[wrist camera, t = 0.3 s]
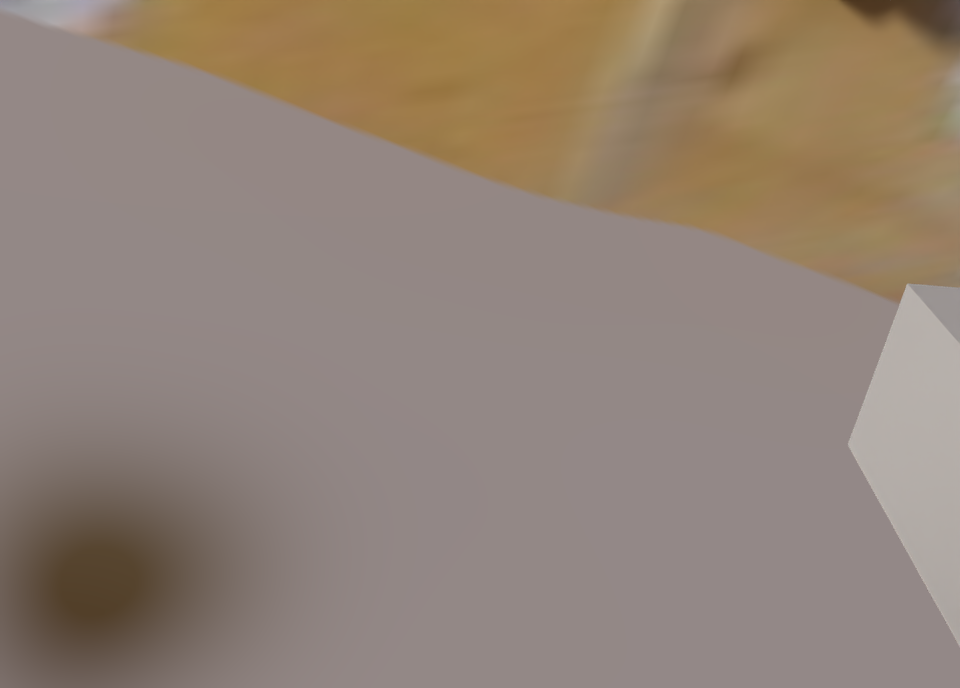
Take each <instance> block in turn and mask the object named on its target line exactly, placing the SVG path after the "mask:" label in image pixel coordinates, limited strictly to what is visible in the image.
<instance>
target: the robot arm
mask: <svg viewBox="0 0 960 688" xmlns="http://www.w3.org/2000/svg"><path fill="white" fill-rule="evenodd" d="M848 446H849V448H850V450H851V451H852V453H853V455H854V457H855V459H856V461H857V462H858V464H859V466H860V468H861V469H862V471H863V473H864V475H865V477H866V479H867V480H868V482H869V484H870V486H871V487H872V489H873V491H874V493H875V495H876V497H877V498H878V500H879V502H880V504H881V506H882V507H883V509H884V511H885V513H886V514H887V516H888V518H889V520H890V522H891V524H892V526H893V527H894V529H895V531H896V533H897V534H898V536H899V538H900V540H901V542H902V544H903V545H904V547H905V549H906V550H907V553H908V554H909V556H910V558H911V560H912V562H913V563H914V565H915V567H916V569H917V571H918V572H919V574H920V576H921V578H922V580H923V581H924V583H925V585H926V587H927V588H928V590H929V592H930V594H931V596H932V598H933V599H934V601H935V603H936V605H937V607H938V609H939V610H940V612H941V614H942V616H943V618H944V619H945V621H946V623H947V625H948V627H949V628H950V630H951V632H952V634H953V635H954V637H955V639H956V641H957V643H958V644H959V646H960V288H955V287H942V286H930V285H918V284H907V286H906V289H905V291H904V294H903V297H902V300H901V302H900V305H899V308H898V310H897V313H896V316H895V318H894V321H893V324H892V327H891V329H890V332H889V335H888V337H887V340H886V343H885V345H884V348H883V351H882V354H881V356H880V359H879V362H878V364H877V367H876V370H875V372H874V375H873V378H872V381H871V383H870V386H869V389H868V391H867V394H866V397H865V399H864V402H863V405H862V408H861V410H860V413H859V416H858V418H857V421H856V424H855V426H854V429H853V432H852V435H851V437H850V440H849V443H848Z"/></svg>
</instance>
